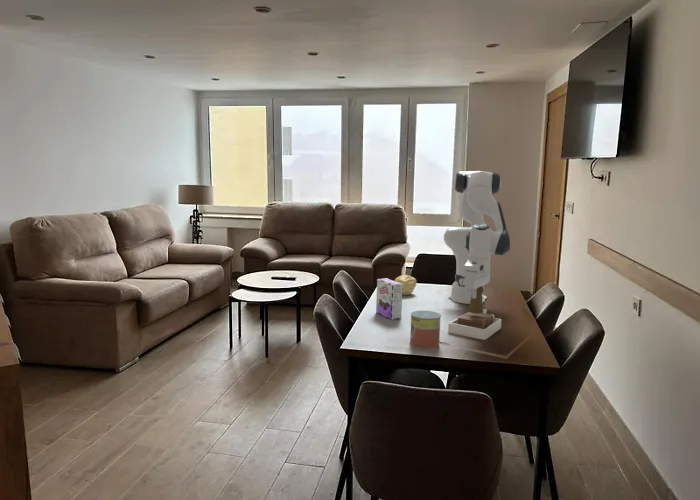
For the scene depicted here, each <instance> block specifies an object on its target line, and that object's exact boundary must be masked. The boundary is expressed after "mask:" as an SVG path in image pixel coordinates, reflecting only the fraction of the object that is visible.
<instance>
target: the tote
mask: <svg viewBox="0 0 700 500" xmlns="http://www.w3.org/2000/svg"><path fill="white" fill-rule="evenodd" d="M466 313H467V312H466ZM466 313H464V314H466ZM459 317H460V316H458V317H456V318H455V319H453V320H451V321H449V322H448V327H447V333H449V334H450V333H451V334H453V335H458V336H464V337H469V338H473V339H479V340H483V341H486V340H487V339H488V338H490V337H491V336H493V334H495V333H497V332H498V331H499V330H501V329H502V318H497V317H494V318H493V324H491V325H490V326H488V327H487V328H485V329H480V328H475V327H470V326H465V325H460V324H458V318H459Z"/></svg>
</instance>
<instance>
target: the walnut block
mask: <svg viewBox="0 0 700 500" xmlns="http://www.w3.org/2000/svg"><path fill="white" fill-rule="evenodd" d="M491 314H492V313H486V314H485V313H481V314H475V313H470V312H469V311H468V312H466V314H465V313H464V314H462V315H460V316H458V317H459V318H458V317H457V318H458V324H460V325H465V326H470V327H475V328H480V329H485V328H487V327H488V326H490V325H491V324H493V315H494V314H493V315H491Z"/></svg>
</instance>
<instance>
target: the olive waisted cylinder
mask: <svg viewBox="0 0 700 500" xmlns="http://www.w3.org/2000/svg"><path fill="white" fill-rule="evenodd" d="M471 293H472V292H471ZM482 293H483V294H484V288H483V287H482V286H481V287H479V288H477V298H475V299H474V298H472V295H471V300H470V304H469V306H468V312H470V313H475V314H481V313H483V309H484V306H483V304H484V303H482Z"/></svg>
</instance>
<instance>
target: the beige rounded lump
mask: <svg viewBox="0 0 700 500" xmlns="http://www.w3.org/2000/svg"><path fill="white" fill-rule="evenodd" d="M394 281H395V282H398V283H401V284H403V290H402V296H408V295H412V294H413V293H414V290H415V287H416V286H417V279H416V278H415V277H413V276H411V275H409V274H404V275H399V276H398V277H396V278H395V279H394Z"/></svg>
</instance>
